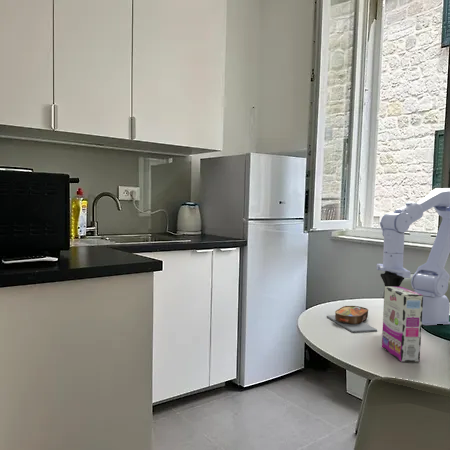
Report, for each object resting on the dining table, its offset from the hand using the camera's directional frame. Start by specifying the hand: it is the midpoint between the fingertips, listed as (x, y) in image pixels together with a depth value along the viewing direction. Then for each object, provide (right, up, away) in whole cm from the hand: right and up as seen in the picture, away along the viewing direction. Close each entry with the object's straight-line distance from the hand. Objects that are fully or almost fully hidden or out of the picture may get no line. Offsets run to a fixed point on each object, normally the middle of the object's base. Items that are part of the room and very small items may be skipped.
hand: (391, 297), depth 132 cm
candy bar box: (-6, -11, -22) cm, 26 cm away
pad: (-11, -9, +4) cm, 15 cm away
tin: (-6, -7, +6) cm, 11 cm away
